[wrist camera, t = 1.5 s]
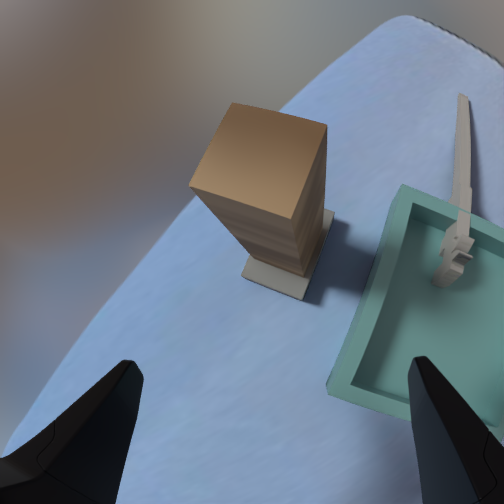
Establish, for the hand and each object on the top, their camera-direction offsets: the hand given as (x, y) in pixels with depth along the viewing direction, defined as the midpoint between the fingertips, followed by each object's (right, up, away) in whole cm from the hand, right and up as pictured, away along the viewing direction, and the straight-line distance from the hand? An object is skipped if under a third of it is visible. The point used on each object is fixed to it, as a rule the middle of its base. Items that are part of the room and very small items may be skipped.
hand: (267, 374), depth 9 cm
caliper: (+17, +10, +14) cm, 24 cm away
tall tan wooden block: (+2, +4, +14) cm, 15 cm away
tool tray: (+14, -1, +10) cm, 17 cm away
